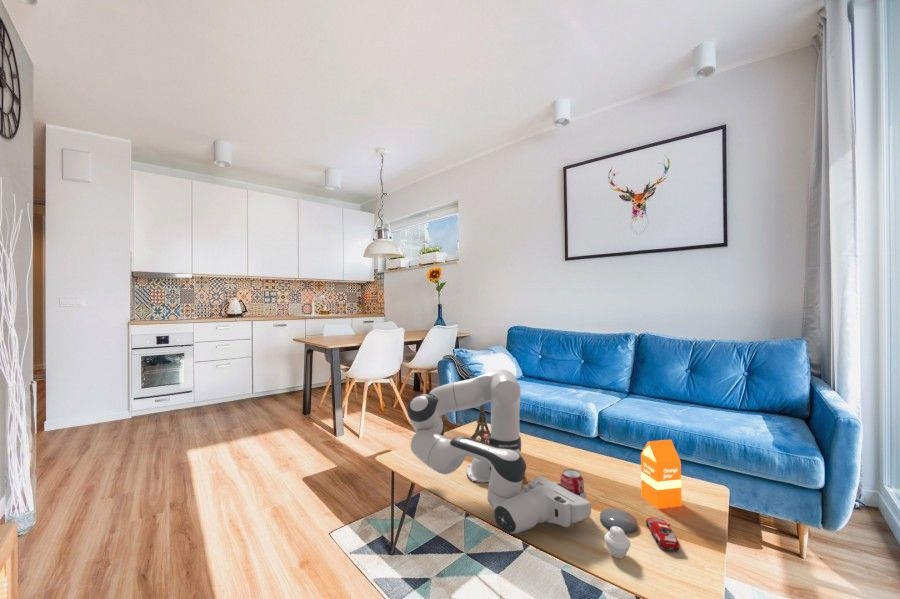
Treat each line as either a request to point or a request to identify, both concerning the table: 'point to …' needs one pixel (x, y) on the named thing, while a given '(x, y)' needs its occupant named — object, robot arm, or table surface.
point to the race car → (662, 534)
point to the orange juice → (661, 474)
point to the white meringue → (617, 542)
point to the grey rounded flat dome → (618, 520)
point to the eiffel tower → (482, 423)
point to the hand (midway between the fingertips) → (575, 489)
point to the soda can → (572, 481)
